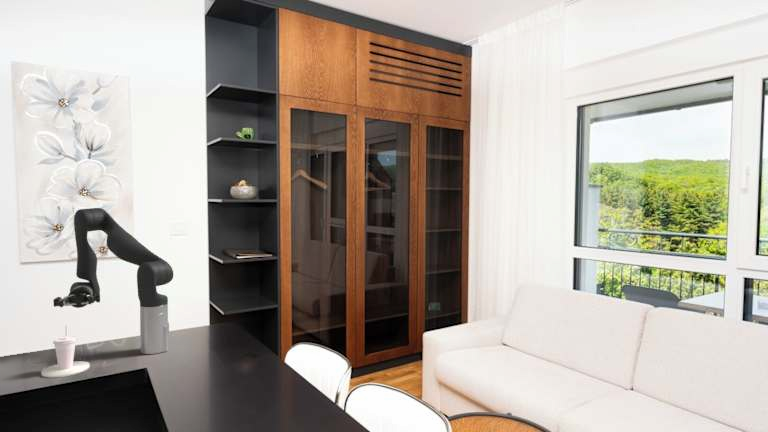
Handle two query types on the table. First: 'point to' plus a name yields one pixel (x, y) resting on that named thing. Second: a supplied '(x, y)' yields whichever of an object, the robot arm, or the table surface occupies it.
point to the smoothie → (65, 350)
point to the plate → (55, 372)
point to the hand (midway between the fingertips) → (75, 302)
